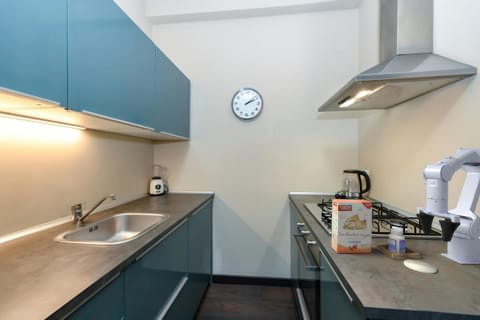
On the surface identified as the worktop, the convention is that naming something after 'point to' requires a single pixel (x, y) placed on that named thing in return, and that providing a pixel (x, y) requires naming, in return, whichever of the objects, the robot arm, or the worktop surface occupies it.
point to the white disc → (420, 266)
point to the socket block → (411, 254)
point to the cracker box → (351, 226)
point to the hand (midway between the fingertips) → (436, 237)
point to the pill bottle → (396, 241)
